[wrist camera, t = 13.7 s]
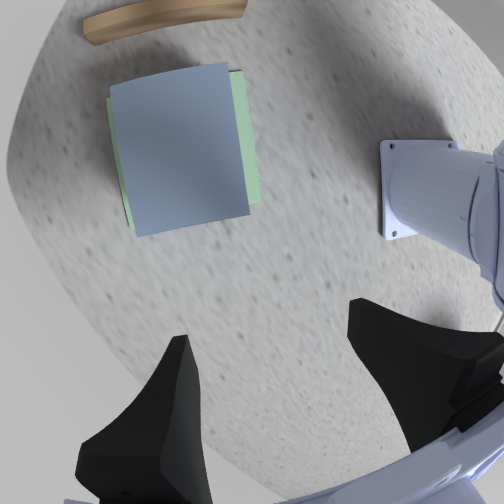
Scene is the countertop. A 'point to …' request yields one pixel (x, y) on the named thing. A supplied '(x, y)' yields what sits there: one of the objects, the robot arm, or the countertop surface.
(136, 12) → the wall
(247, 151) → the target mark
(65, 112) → the countertop surface
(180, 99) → the grey-blue rectangular brick
